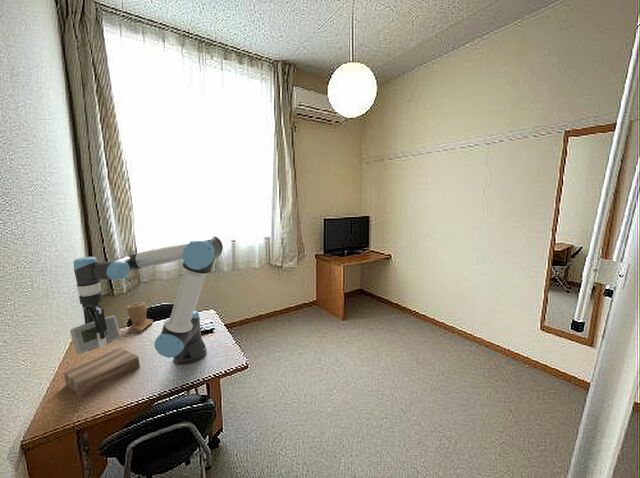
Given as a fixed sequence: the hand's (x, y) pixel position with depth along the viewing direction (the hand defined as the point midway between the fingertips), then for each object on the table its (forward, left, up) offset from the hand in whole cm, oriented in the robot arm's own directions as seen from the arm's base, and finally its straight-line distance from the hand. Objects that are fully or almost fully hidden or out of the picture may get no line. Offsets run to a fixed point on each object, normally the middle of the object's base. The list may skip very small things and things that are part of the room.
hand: (98, 342), depth 123 cm
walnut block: (0, 0, -16) cm, 16 cm away
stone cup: (+35, -33, -17) cm, 51 cm away
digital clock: (-1, 0, -1) cm, 1 cm away
